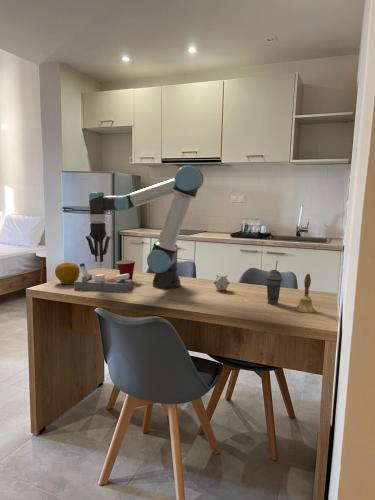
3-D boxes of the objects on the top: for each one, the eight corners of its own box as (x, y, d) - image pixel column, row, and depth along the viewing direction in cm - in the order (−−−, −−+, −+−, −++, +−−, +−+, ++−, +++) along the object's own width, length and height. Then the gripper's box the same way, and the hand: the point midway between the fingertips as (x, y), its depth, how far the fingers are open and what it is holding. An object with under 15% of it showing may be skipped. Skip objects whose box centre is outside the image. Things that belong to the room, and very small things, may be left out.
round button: (115, 285, 190) (115, 277, 189) (113, 287, 186) (113, 279, 186) (108, 285, 190) (108, 277, 190) (106, 286, 187) (106, 278, 186)
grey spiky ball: (217, 297, 188) (207, 280, 191) (230, 290, 192) (220, 274, 194) (222, 293, 180) (212, 275, 182) (236, 285, 184) (225, 268, 186)
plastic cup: (119, 279, 210) (118, 258, 209) (137, 279, 210) (137, 259, 208) (114, 283, 200) (114, 262, 198) (133, 284, 199) (133, 262, 197)
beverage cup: (269, 300, 171) (271, 258, 168) (283, 303, 167) (285, 260, 164) (261, 303, 166) (263, 260, 163) (276, 306, 161) (278, 262, 158)
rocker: (129, 276, 188) (128, 273, 188) (127, 278, 184) (126, 274, 184) (118, 278, 189) (117, 275, 189) (115, 280, 185) (114, 276, 185)
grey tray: (132, 287, 192) (132, 275, 191) (127, 291, 182) (127, 279, 181) (82, 284, 195) (81, 273, 195) (74, 289, 186) (73, 277, 185)
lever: (91, 278, 191) (85, 261, 190) (88, 280, 187) (81, 263, 186) (87, 279, 192) (81, 263, 191) (83, 281, 187) (77, 264, 186)
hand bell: (305, 306, 162) (307, 271, 160) (319, 311, 155) (322, 275, 153) (291, 308, 158) (293, 273, 156) (305, 314, 151) (307, 276, 149)
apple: (66, 287, 190) (65, 266, 188) (50, 284, 196) (49, 263, 195) (85, 282, 201) (84, 262, 199) (69, 279, 207) (68, 260, 206)
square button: (104, 282, 190) (104, 274, 190) (102, 283, 187) (102, 275, 186) (97, 281, 191) (97, 274, 190) (95, 283, 187) (95, 275, 186)
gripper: (112, 222, 187) (114, 266, 190) (88, 222, 189) (90, 266, 192) (107, 223, 180) (109, 269, 183) (82, 223, 181) (84, 269, 185)
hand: (99, 268), depth 188 cm, fingers closed
